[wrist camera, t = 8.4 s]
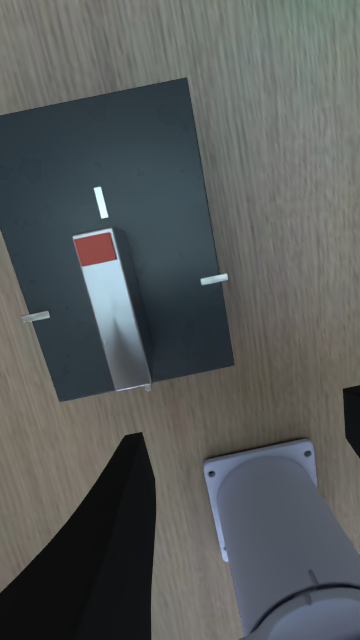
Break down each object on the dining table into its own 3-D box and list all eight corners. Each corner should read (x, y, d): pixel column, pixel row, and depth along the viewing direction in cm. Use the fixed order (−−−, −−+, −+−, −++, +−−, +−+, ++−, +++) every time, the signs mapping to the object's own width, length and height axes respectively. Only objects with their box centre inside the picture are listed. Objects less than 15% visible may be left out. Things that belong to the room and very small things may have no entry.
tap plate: (230, 351, 20) (242, 371, 17) (70, 384, 20) (54, 411, 17) (188, 105, 16) (195, 73, 13) (-8, 145, 16) (-48, 122, 13)
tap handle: (154, 352, 16) (152, 387, 12) (125, 358, 16) (114, 395, 12) (125, 229, 15) (112, 225, 11) (92, 236, 15) (67, 234, 11)
